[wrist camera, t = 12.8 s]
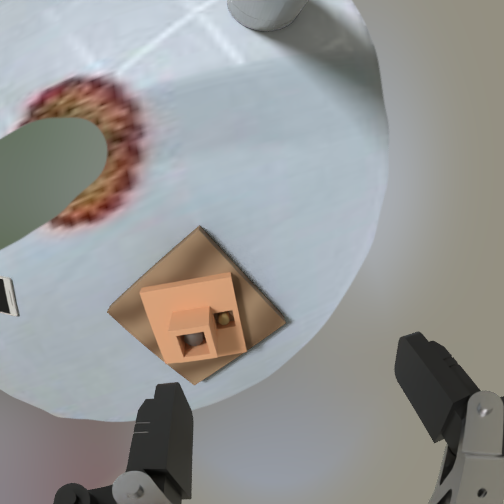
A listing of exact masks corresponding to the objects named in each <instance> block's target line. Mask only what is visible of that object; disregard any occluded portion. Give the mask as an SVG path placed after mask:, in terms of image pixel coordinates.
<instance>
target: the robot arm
mask: <svg viewBox="0 0 504 504" xmlns="http://www.w3.org/2000/svg"><path fill="white" fill-rule="evenodd" d="M307 2H308V0H227V5H228V9H229V11H230V13H231V14H232V16H233V17H234V18H235V19H236V20H237V21H238V22H239V23H241V24H242V25H244V26H246V27H248V28H250V29H254V30H258V31H274V30H278V29H281V28H283V27H286V26H287V25H289V24H290V23H291V22H292V21H293V20H294V19H295V18H296V17H297V16H298V14H299V13H300V11H301V10H302V8H303V7H304V6H305V4H306V3H307ZM395 376H396V379H397V381H398V383H399V384H400V386H401V388H402V389H403V391H404V393H405V394H406V396H407V397H408V399H409V401H410V403H411V404H412V406H413V408H414V409H415V411H416V413H417V414H418V416H419V418H420V419H421V421H422V423H423V424H424V426H425V428H426V430H427V431H428V433H429V435H430V436H431V438H432V440H433V442H434V443H436V442H438V441H440V440H442V439H445V441H446V442H447V445H446V447H445V451H444V456H443V460H442V464H441V469H440V473H439V476H438V480H437V484H436V487H435V490H434V493H433V495H432V497H431V499H430V501H429V503H428V504H503V499H504V397H499V396H498V395H497V394H495V393H493V392H490V391H480V389H479V388H478V387H477V386H476V385H475V383H474V382H473V381H472V380H471V378H470V377H469V376H468V375H467V374H466V372H465V371H464V370H463V369H462V367H461V366H460V365H458V363H457V361H456V360H455V359H454V358H452V357H451V354H450V353H449V352H448V351H447V350H446V348H445V347H444V346H442V345H440V344H438V343H437V342H435V341H430V342H428V340H427V339H426V338H425V337H424V336H423V334H421V333H420V332H415V333H412V334H409V335H406V336H403V337H401V338H400V339H399V343H398V349H397V355H396V361H395ZM192 447H193V416H192V411H191V408H190V406H189V404H188V402H187V399H186V397H185V395H184V393H183V390H182V388H181V386H180V384H179V383H178V382H175V383H165V384H157V386H156V390H155V395H154V399H146V400H145V401H144V403H143V404H142V405H141V407H140V408H139V410H138V414H137V418H136V424H135V428H134V434H133V438H132V443H131V448H130V454H129V459H128V465H127V469H126V472H125V473H123V474H122V475H120V476H119V477H118V478H117V479H116V480H115V482H114V484H113V485H110V486H106V487H102V488H97V489H92V490H87V489H85V488H84V487H83V486H82V485H79V484H76V483H70V484H66V485H64V486H62V487H61V488H60V489H59V490H58V491H57V493H56V495H55V499H54V503H53V504H181V500H182V499H191V483H192Z"/></svg>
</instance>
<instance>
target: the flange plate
mask: <svg viewBox="0 0 504 504" xmlns="http://www.w3.org/2000/svg"><path fill="white" fill-rule="evenodd" d="M140 296H141V299H142V302H143V305H144V308H145V311H146V314H147V316H148V319H149V322H150V325H151V327H152V330H153V333H154V335H155V338H156V341H157V343H158V346H159V349H160V351H161V354H162V356H163V359H164V361H165V364H171V363H183V362H190V361H198V360H204V359H211V358H217V357H220V356H226V355H232V354H238V353H244V352H247V350H246V344H245V339H244V334H243V330H242V325H241V320H240V316H239V311H238V306H237V301H236V296H235V291H234V286H233V282H232V277H231V272H228V273H222V274H217V275H211V276H206V277H200V278H194V279H189V280H183V281H177V282H172V283H166V284H160V285H155V286H149V287H143V288H141V291H140ZM230 310H232V311H233V315H234V321H229V323H228V324H226V325H221V324H220V323H217V322H216V318H215V314H214V313H219V312H224V311H230ZM199 332H203V341H202V343H201V344H200V345H197V346H190V345H188V344H187V343H186V342H185V341H184V335H186V334H192V333H199Z"/></svg>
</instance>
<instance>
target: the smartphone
mask: <svg viewBox="0 0 504 504" xmlns="http://www.w3.org/2000/svg"><path fill="white" fill-rule="evenodd" d="M0 313H3V314H8V315H12V316H17V315H18V311H17V306H16V302H15V297H14V292H13V286H12V281H11V278H9V277H4V276H0Z"/></svg>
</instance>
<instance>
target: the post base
mask: <svg viewBox="0 0 504 504" xmlns="http://www.w3.org/2000/svg"><path fill="white" fill-rule="evenodd" d="M228 272H231V277H232V282H233V286H234V291H235V296H236V301H237V306H238V311H239V316H240V320H241V325H242V330H243V334H244V339H245V344H246V350H249V349H250V348H252V347H253V346H254V345H256V344H257V343H259V342H260V341H262V340H263V339H264V338H266V337H267V336H269V335H270V334H271V333H273V332H274V331H276V330H277V329H278V328H280V327H281V326H283V325H284V324H285V323H286V322H285V319H284V316H283V315H282V314H281V313H280V312H279V311H278V310H277V308H276V307H275V306H274V305H273V304H272V303H271V302H270V301H269V300H268V299H267V298H266V297H265V296H264V295H263V294H262V292H261V291H260V290H259V289H258V288H257V287H256V286H255V285H254V284H253V283H252V282H251V281H250V280H249V279H248V277H247V276H246V275H245V274H244V273H243V272H242V271H241V270H240V269H239V268H238V267H237V266H236V265H235V263H234V262H233V261H232V260H231V259H230V258H229V257H228V256H227V255H226V254H225V253H224V252H223V250H222V249H221V248H220V247H219V246H218V245H217V244H216V243H215V242H214V241H213V240H212V238H211V237H210V236H209V235H208V234H207V233H206V232H205V231H204V230H203V229H202V228H201V226H200V225H199V226H198V227H197V228H196V229H195V230H194V231H192V232H191V233H190V234H189V235H188V236H187V237H185V238H184V239H183V240H182V241H181V242H180V243H179V244H177V245H176V246H175V247H174V248H173V249H172V250H171V251H169V252H168V253H167V254H166V255H165V256H164V257H163V258H162V259H160V260H159V261H158V262H157V263H156V264H155V265H154V266H153V267H152V268H150V269H149V270H148V271H147V272H146V273H145V274H144V275H143V276H142V277H140V278H139V279H138V280H137V281H136V282H135V283H134V284H133V285H132V286H131V287H130V288H128V289H127V290H126V291H125V292H124V293H123V294H122V295H121V296H120V297H119V298H118V299H117V300H116V301H115V302H113V303H112V304H111V305H110V307H109V309H108V311H107V313H109V314H110V315H111V316H112V317H113V318H114V319H115V320H116V321H117V322H118V323H119V324H121V325H122V326H123V327H124V328H125V329H126V330H127V331H128V332H129V333H131V334H132V335H133V336H134V337H135V338H136V339H137V340H139V341H140V342H141V343H142V344H143V345H144V346H146V347H147V348H148V349H149V350H150V351H152V352H153V353H154V354H155V355H156V356H158V357H159V358H160V359H161V360H163V361H164V359H163V356H162V354H161V351H160V349H159V346H158V343H157V341H156V338H155V335H154V333H153V330H152V327H151V325H150V322H149V319H148V316H147V314H146V311H145V308H144V305H143V302H142V299H141V296H140V291H141V288H143V287H149V286H155V285H160V284H166V283H172V282H177V281H183V280H189V279H194V278H200V277H206V276H211V275H217V274H222V273H228ZM214 314H215V318H216V322H217V323H220V324H221V325H226V324H228V323H229V321H234V315H233V311H232V310H230V311H224V312H219V313H214ZM184 341H185V342H186V343H187V344H188V345H190V346H197V345H200V344H201V343H202V341H203V332H199V333H192V334H186V335H184ZM241 354H243V353H238V354H232V355H226V356H220V357H217V358H211V359H204V360H198V361H190V362H183V363H171V364H168V365H169V366H170V367H171V368H173V369H174V370H175V371H176V372H178V373H179V374H180V375H182V376H183V377H184V378H185V379H187V380H188V381H189V382H191V383H192V384H193V385H196V384H197V383H199V382H200V381H202V380H204V379H205V378H207V377H208V376H210V375H211V374H213V373H214V372H216V371H217V370H219V369H220V368H222V367H223V366H225V365H226V364H228V363H229V362H231V361H232V360H234V359H235V358H237V357H238V356H240V355H241ZM164 362H165V361H164Z"/></svg>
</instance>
